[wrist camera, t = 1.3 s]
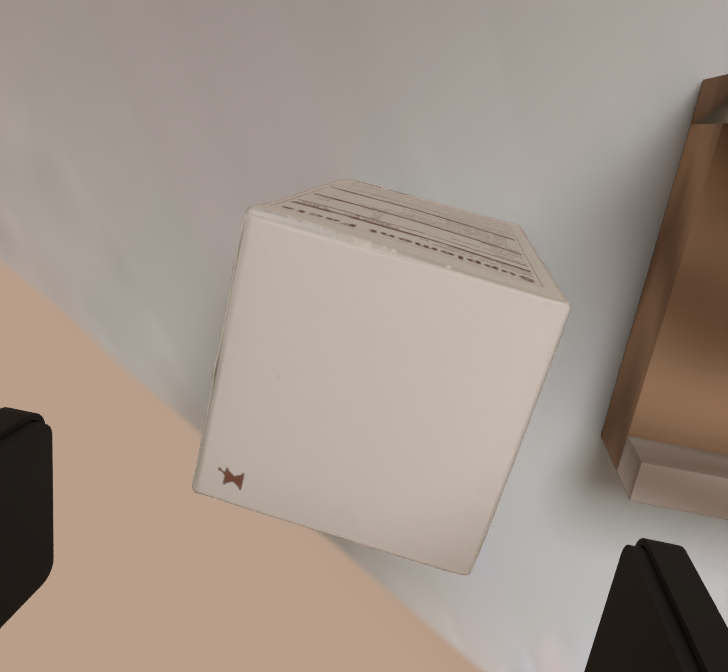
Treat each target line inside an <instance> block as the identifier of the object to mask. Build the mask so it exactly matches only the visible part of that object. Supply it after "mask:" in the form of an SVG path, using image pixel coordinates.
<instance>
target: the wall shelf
mask: <svg viewBox="0 0 728 672" xmlns="http://www.w3.org/2000/svg"><path fill="white" fill-rule="evenodd" d="M601 437H602V439H603V441H604V443H605V446H606V448H607V450H608V452H609V455H610V457H611V459H612V461H613V464H614V466H615V468H616V470H617V473H618V475H619V477H620V479H621V482H622V484H623V486H624V488H625V491H626V493H627V495H628V497H629V500H631V501H636V502H641V503H646V504H651V505H656V506H661V507H666V508H671V509H676V510H681V511H686V512H691V513H696V514H701V515H706V516H711V517H716V518H721V519H727V520H728V74H727V75H723V76H718V77H714V78H709V79H705V80H704V81H703V84H702V88H701V91H700V95H699V98H698V101H697V105H696V108H695V112H694V115H693V119H692V122H691V126H690V129H689V133H688V136H687V140H686V143H685V146H684V150H683V153H682V157H681V160H680V164H679V167H678V171H677V174H676V178H675V181H674V184H673V188H672V191H671V195H670V198H669V202H668V205H667V209H666V212H665V216H664V219H663V222H662V226H661V229H660V233H659V236H658V240H657V243H656V247H655V250H654V254H653V257H652V261H651V264H650V267H649V271H648V274H647V278H646V281H645V285H644V288H643V292H642V295H641V299H640V302H639V305H638V309H637V312H636V316H635V319H634V323H633V326H632V330H631V333H630V337H629V340H628V344H627V347H626V350H625V354H624V357H623V361H622V364H621V368H620V371H619V375H618V378H617V382H616V385H615V388H614V392H613V395H612V399H611V402H610V406H609V409H608V413H607V416H606V420H605V423H604V427H603V430H602V433H601Z"/></svg>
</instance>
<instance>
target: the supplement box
mask: <svg viewBox="0 0 728 672" xmlns="http://www.w3.org/2000/svg"><path fill="white" fill-rule="evenodd" d="M570 308H571V306H570V304H569V303H568V301H567V300H566V298H565V297H564V295H563V294H562V292H561V290H560V289H559V287H558V285H557V284H556V282H555V281H554V279H553V278H552V276H551V274H550V273H549V271H548V269H547V268H546V266H545V265H544V263H543V262H542V260H541V259H540V257H539V255H538V254H537V252H536V251H535V249H534V248H533V246H532V244H531V242H530V241H529V240H528V238H527V236H526V235H525V233H524V232H523V230H522V229H521V227H520V226H519V225H517V224H514V223H509V222H505V221H502V220H498V219H494V218H490V217H487V216H483V215H479V214H476V213H472V212H468V211H465V210H461V209H458V208H454V207H450V206H447V205H443V204H439V203H436V202H432V201H429V200H425V199H421V198H418V197H414V196H410V195H407V194H403V193H399V192H396V191H392V190H388V189H384V188H381V187H377V186H373V185H370V184H366V183H362V182H358V181H355V180H351V179H344V180H340V181H337V182H332V183H329V184H326V185H323V186H320V187H316V188H313V189H310V190H307V191H304V192H301V193H299V194H295V195H293V196H289V197H286V198H283V199H280V200H277V201H274V202H271V203H267V204H262V205H255V206H251V207H249V208H248V209H247V210H246V212H245V214H244V216H243V220H242V224H241V229H240V235H239V240H238V245H237V250H236V255H235V261H234V267H233V273H232V279H231V284H230V289H229V295H228V300H227V305H226V311H225V316H224V322H223V327H222V333H221V338H220V343H219V347H218V351H217V356H216V359H215V364H214V369H213V373H212V386H211V392H210V397H209V402H208V407H207V413H206V418H205V424H204V429H203V435H202V439H201V444H200V450H199V456H198V461H197V466H196V470H195V475H194V479H193V484H192V488H193V490H194V492H196V493H199V494H203V495H207V496H210V497H213V498H217V499H219V500H222V501H225V502H228V503H231V504H234V505H237V506H240V507H243V508H246V509H249V510H253V511H256V512H259V513H262V514H265V515H269V516H272V517H275V518H278V519H281V520H285V521H288V522H291V523H294V524H298V525H301V526H304V527H307V528H310V529H313V530H316V531H320V532H323V533H326V534H330V535H333V536H336V537H339V538H342V539H345V540H349V541H352V542H355V543H358V544H361V545H365V546H368V547H371V548H374V549H378V550H381V551H384V552H387V553H391V554H394V555H397V556H400V557H404V558H406V559H409V560H413V561H417V562H419V563H422V564H425V565H428V566H432V567H435V568H439V569H442V570H445V571H449V572H453V573H457V574H462V575H468V574H470V573H471V570H472V568H473V566H474V564H475V561H476V559H477V556H478V554H479V552H480V549H481V547H482V544H483V542H484V540H485V537H486V534H487V532H488V529H489V527H490V524H491V522H492V519H493V516H494V514H495V511H496V508H497V505H498V503H499V500H500V498H501V495H502V492H503V490H504V487H505V485H506V482H507V479H508V477H509V474H510V472H511V469H512V466H513V464H514V461H515V458H516V456H517V453H518V450H519V448H520V445H521V442H522V440H523V437H524V434H525V432H526V429H527V426H528V424H529V421H530V418H531V416H532V413H533V410H534V408H535V405H536V402H537V400H538V397H539V394H540V392H541V389H542V386H543V384H544V381H545V378H546V376H547V373H548V370H549V368H550V365H551V362H552V359H553V357H554V354H555V351H556V348H557V345H558V343H559V340H560V337H561V334H562V331H563V329H564V326H565V323H566V320H567V317H568V315H569V312H570Z"/></svg>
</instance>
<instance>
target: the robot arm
mask: <svg viewBox="0 0 728 672" xmlns="http://www.w3.org/2000/svg"><path fill="white" fill-rule="evenodd" d="M52 463H53V462H52V431H51V428H50V426H48V425H47V424H45V421H44V419H43V417H42V416H41V415H40V414H37V413H32V412H28V411H23V410H18V409H13V408H7V407H4V408H1V409H0V628H1V627H2V626H3V625H4V624H5V623H6V622H7V621H8V620H9V619H10V618H11V617H12V615H13V614H14V613H15V612H16V611H17V610H18V609H19V608H20V607H21V606H22V605H23V604H24V603H25V602H26V601H27V600H28V599H29V598H30V597H31V596H32V595H33V594H34V593H35V592H36V590H38V589H39V588H40V586H41V585H42V584H43V583H44V582H45V581H46V579H47V577H48V576H49V574H50V571H51V569H52V565H53V467H52V466H53V464H52ZM584 672H728V627H727V626H726V624H725V622H724V620H723V618H722V616H721V615H720V613H719V611H718V609H717V607H716V605H715V604H714V602H713V600H712V598H711V596H710V594H709V593H708V591H707V589H706V587H705V585H704V583H703V582H702V580H701V578H700V576H699V574H698V572H697V571H696V569H695V567H694V565H693V563H692V561H691V560H690V558H689V556H688V554H687V552H686V551H685V549H684V548H683V547H682V546H679V545H674V544H669V543H664V542H660V541H655V540H650V539H645V538H642V539H640V540H639V541H638V542H637V543H636V546H631V545H626V546H625V547H624V549H623V551H622V553H621V556H620V559H619V563H618V566H617V569H616V572H615V575H614V579H613V582H612V585H611V588H610V591H609V595H608V598H607V601H606V604H605V607H604V611H603V614H602V617H601V620H600V623H599V627H598V630H597V633H596V636H595V639H594V643H593V646H592V649H591V652H590V655H589V659H588V662H587V665H586V668H585V671H584Z"/></svg>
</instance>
